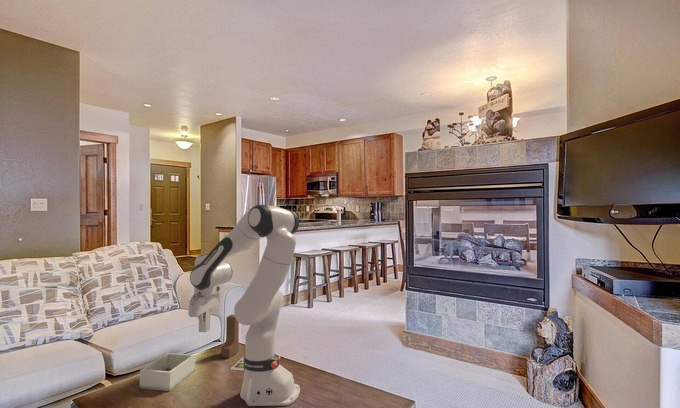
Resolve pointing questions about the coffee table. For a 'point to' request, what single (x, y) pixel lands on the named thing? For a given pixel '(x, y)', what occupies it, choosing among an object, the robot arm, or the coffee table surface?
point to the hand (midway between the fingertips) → (204, 321)
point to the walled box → (167, 371)
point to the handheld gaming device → (239, 365)
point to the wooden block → (231, 337)
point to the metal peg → (205, 322)
